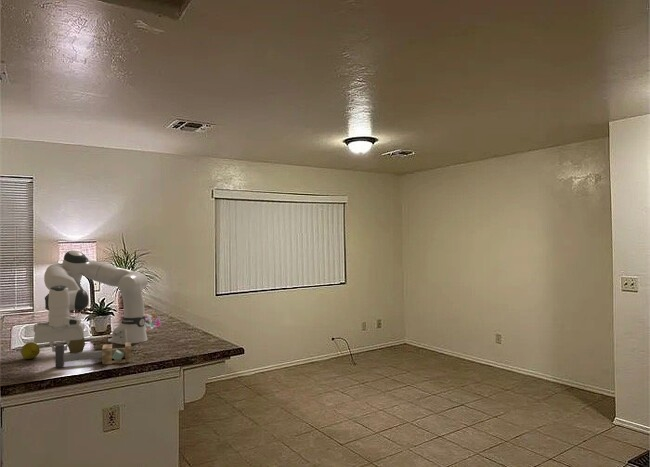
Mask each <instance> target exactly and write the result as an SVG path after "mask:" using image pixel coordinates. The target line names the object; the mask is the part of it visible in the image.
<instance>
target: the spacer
mask: <svg viewBox="0 0 650 467" xmlns="http://www.w3.org/2000/svg"><path fill="white" fill-rule="evenodd" d="M115 349H116V351H115V352H114V354H113V355H112V359H114V360H113V361H115V360H123V359H122V358H123V356H124V353H123V352H121V351H119V350H117V349H118V348H115Z"/></svg>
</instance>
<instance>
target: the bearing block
mask: <svg viewBox="0 0 650 467" xmlns="http://www.w3.org/2000/svg"><path fill="white" fill-rule="evenodd" d="M124 345H125V347H119V348H113V343H109V344H106V343H105V344H103V345H102V348H101V350H102V358H101V359H102V360H101V361H102V364H105V365H113V364H112V363H115V364H122V363H130V362H132V343H131V342H128V343H125V344H124ZM116 349H117V350H119V351H121V352H123V353H124V356H123V358H124V359H121V360H112V355H113V354H114V352H115V351H116ZM102 364H101V365H102Z"/></svg>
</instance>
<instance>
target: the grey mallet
mask: <svg viewBox="0 0 650 467" xmlns="http://www.w3.org/2000/svg"><path fill="white" fill-rule="evenodd" d="M64 346H65V343H57V344H55V346H54V347H55V353H54V354H55V358H54V359H55V362H54V363H55V369H61V368H64V366H65V363H68V362H76V361H87V360H98V359H102V349H101V350H91V351H82V352H79V353H65V351H63V347H64Z"/></svg>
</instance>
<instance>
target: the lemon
mask: <svg viewBox="0 0 650 467" xmlns="http://www.w3.org/2000/svg"><path fill="white" fill-rule="evenodd" d="M20 354H21V356H22V358H24V359H26V360H31V359H34V358H36V357H37V356H39V354H40V346H39V345H38V343H37V344H36V343H35V342H31V341H30V342H28V343H27V342H26V343H25V344H24V345H23V346H22V348H21V349H20Z"/></svg>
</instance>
